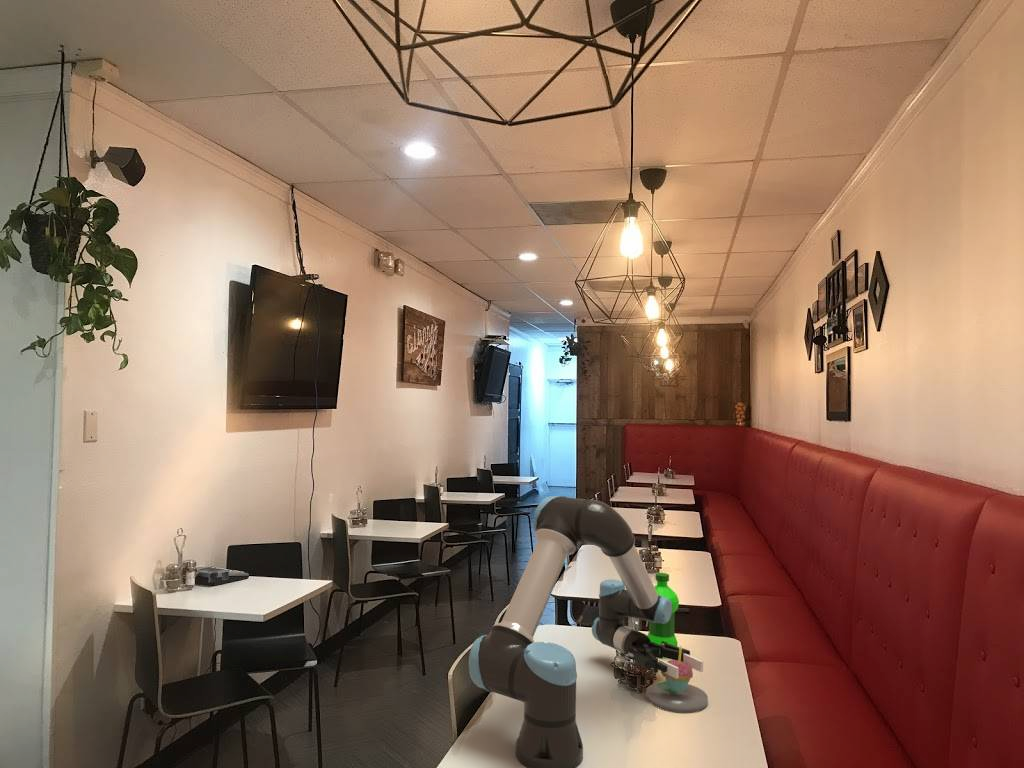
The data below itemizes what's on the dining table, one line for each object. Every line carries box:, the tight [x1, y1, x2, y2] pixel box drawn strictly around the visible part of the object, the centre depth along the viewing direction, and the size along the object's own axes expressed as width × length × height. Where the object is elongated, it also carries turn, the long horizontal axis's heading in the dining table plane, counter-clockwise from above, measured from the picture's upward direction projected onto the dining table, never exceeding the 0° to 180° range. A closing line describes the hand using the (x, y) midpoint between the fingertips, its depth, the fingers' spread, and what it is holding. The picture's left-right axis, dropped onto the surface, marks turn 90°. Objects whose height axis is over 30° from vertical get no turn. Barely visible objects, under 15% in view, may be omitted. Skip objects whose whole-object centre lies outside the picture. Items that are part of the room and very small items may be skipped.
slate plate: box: [645, 681, 709, 714], centre depth 183 cm, size 16×16×2 cm
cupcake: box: [660, 646, 694, 692], centre depth 183 cm, size 9×8×12 cm
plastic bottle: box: [646, 572, 680, 655], centre depth 217 cm, size 10×10×25 cm
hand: (689, 669), depth 179 cm, fingers closed on cupcake, 8 cm apart
